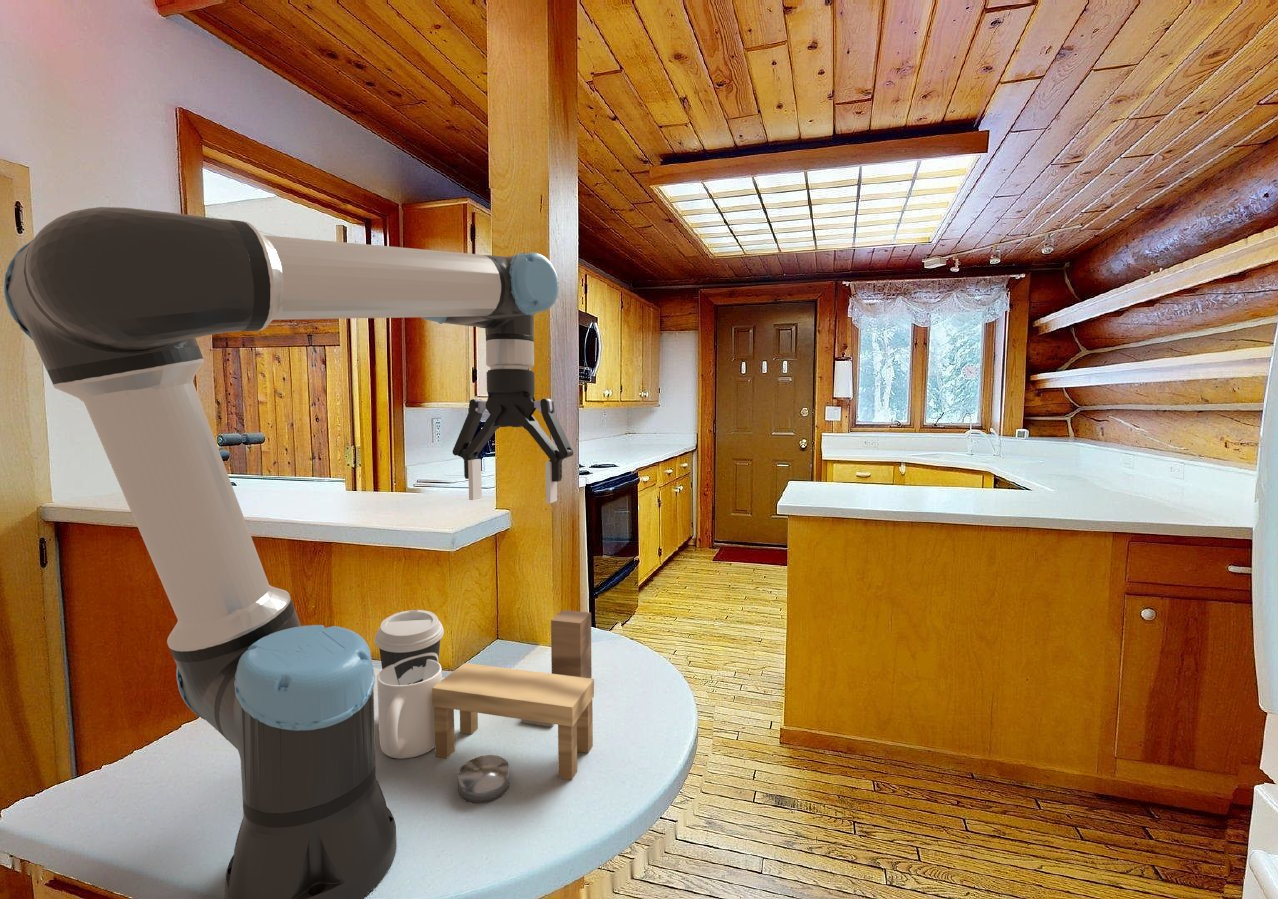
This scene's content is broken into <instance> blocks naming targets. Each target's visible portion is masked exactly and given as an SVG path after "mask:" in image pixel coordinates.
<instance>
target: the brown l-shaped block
mask: <svg viewBox="0 0 1278 899" xmlns="http://www.w3.org/2000/svg"><path fill="white" fill-rule="evenodd" d="M550 634H551V635H550V640H551V641H550V647H551V648H550V652H551V656H550V657H551V674H558V675H566V676H575V677H583V678H591V679H592V673H593V672H592V667H593V666H592V612H588V611H587V612H586V611H579V610H577V611H576V610H575V611H574V610H565V609H563V610H561V611H560V612H559V613H558V614H557V615H555V616H554V617H553V618H552V619H551V620H550ZM521 723H524V724H530V725H537V726H544V727H550V728H554V726H555V725H556V724H550V723H544V722H537V721H530V720H523V719H521Z"/></svg>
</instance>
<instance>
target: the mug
mask: <svg viewBox="0 0 1278 899" xmlns="http://www.w3.org/2000/svg"><path fill="white" fill-rule="evenodd" d="M442 669H443V668H442V665H441V664H440V663H439V662H436V661H434V660H430V659H427V661H426V667H425V672H424V677H423V681H422V682H419V683H415V684H409V685H399V683H398V680H397V676H396V672H395V669H394V665H393V664H392V665H389V666H387V667H386V668H384V669H383V670H382V669H381V671H379V672H378V675H377V676H376V680H377V681H376V682H377V684H376V685H377V707H378V708H377V709H378V710H377V711H378V712H377V713H378V730H379V731H378V735H379V736H378V737H379V738H378V739H379V746H380V749H381V751H382V753H383V754H384V755H386V756H387V757H390V758H392V759H393V758H394V759H400V760H401V759H402V760H403V759H411V758H416V757H419V756H422V755H424V754H426V753H428V752H431V751H432V750H433V749H435V720H434V706H432V687H434V686H435V685H436V684H438V683H439V682H440V681H442V680H443V675H442Z"/></svg>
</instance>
